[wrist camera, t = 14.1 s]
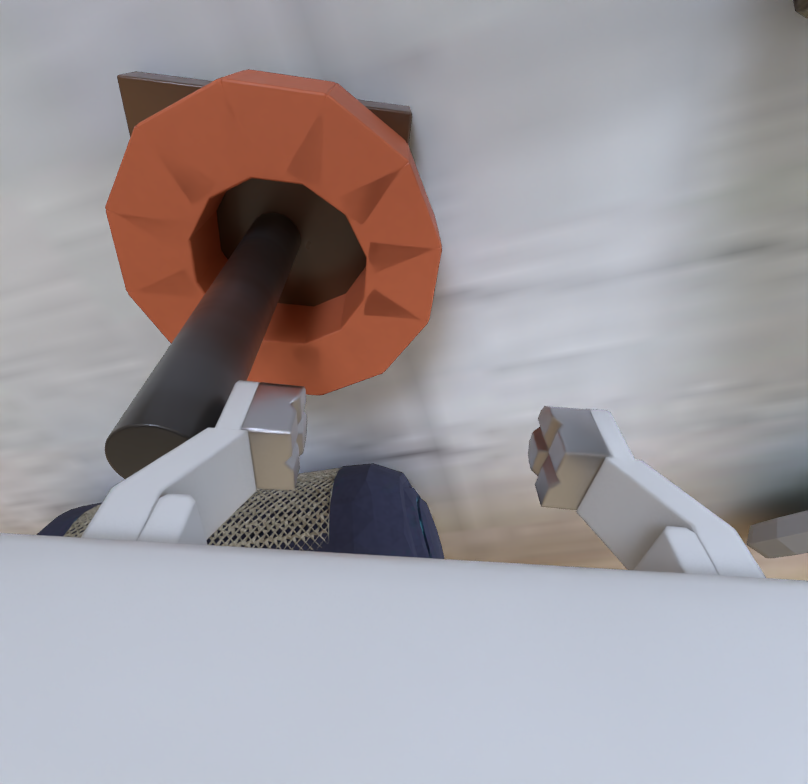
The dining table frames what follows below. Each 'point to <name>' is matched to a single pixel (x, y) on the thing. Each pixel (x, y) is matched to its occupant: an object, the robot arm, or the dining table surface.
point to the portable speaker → (318, 516)
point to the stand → (235, 288)
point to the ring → (293, 163)
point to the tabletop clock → (801, 7)
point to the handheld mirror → (780, 536)
